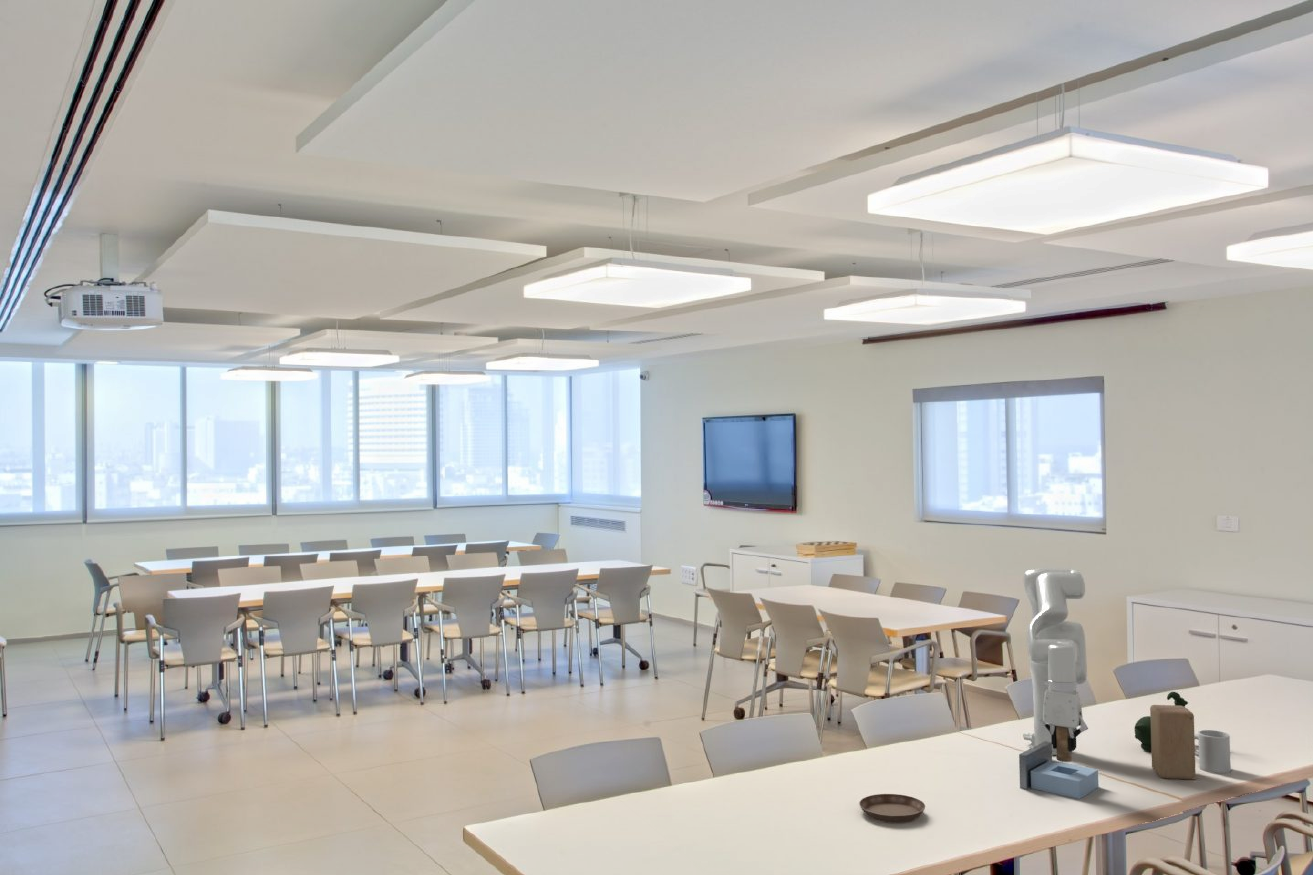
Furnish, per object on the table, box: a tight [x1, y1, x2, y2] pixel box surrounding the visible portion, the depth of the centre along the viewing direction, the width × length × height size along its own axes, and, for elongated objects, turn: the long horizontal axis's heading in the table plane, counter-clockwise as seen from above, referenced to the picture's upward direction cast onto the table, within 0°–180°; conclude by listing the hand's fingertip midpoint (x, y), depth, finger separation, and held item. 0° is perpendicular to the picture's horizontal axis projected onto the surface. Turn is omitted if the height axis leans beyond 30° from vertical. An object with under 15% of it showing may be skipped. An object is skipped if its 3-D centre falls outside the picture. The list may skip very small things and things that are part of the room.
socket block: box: [1030, 759, 1100, 800], centre depth 291 cm, size 14×14×5 cm
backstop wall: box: [1018, 741, 1053, 790], centre depth 297 cm, size 2×18×10 cm, turn 135°
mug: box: [1194, 729, 1232, 775], centre depth 307 cm, size 12×8×11 cm
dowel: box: [1056, 726, 1073, 763], centre depth 291 cm, size 4×4×12 cm
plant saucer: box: [858, 793, 926, 824], centre depth 272 cm, size 18×18×3 cm
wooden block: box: [1149, 704, 1197, 780], centre depth 302 cm, size 10×10×20 cm
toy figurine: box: [1134, 691, 1189, 753], centre depth 329 cm, size 9×19×25 cm
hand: (1064, 748), depth 291 cm, fingers closed on dowel, 4 cm apart
